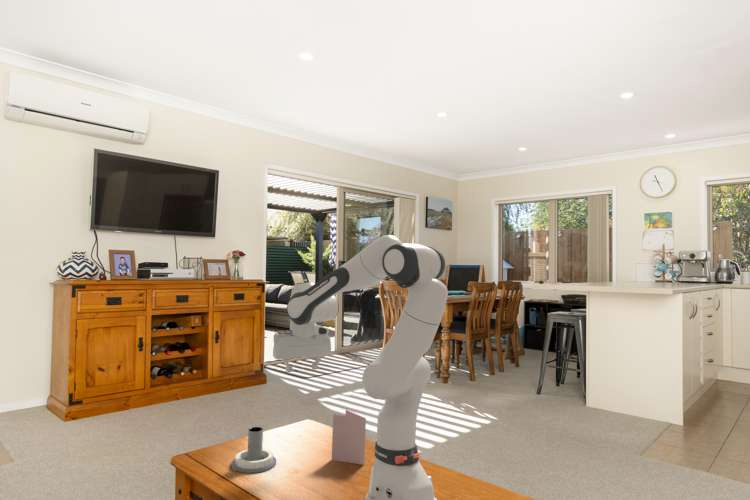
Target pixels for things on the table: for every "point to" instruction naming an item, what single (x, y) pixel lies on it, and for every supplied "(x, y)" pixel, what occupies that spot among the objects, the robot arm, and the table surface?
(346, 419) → the greeting card
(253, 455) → the grey cylinder
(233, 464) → the ring dish
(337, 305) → the robot arm
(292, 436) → the table surface
